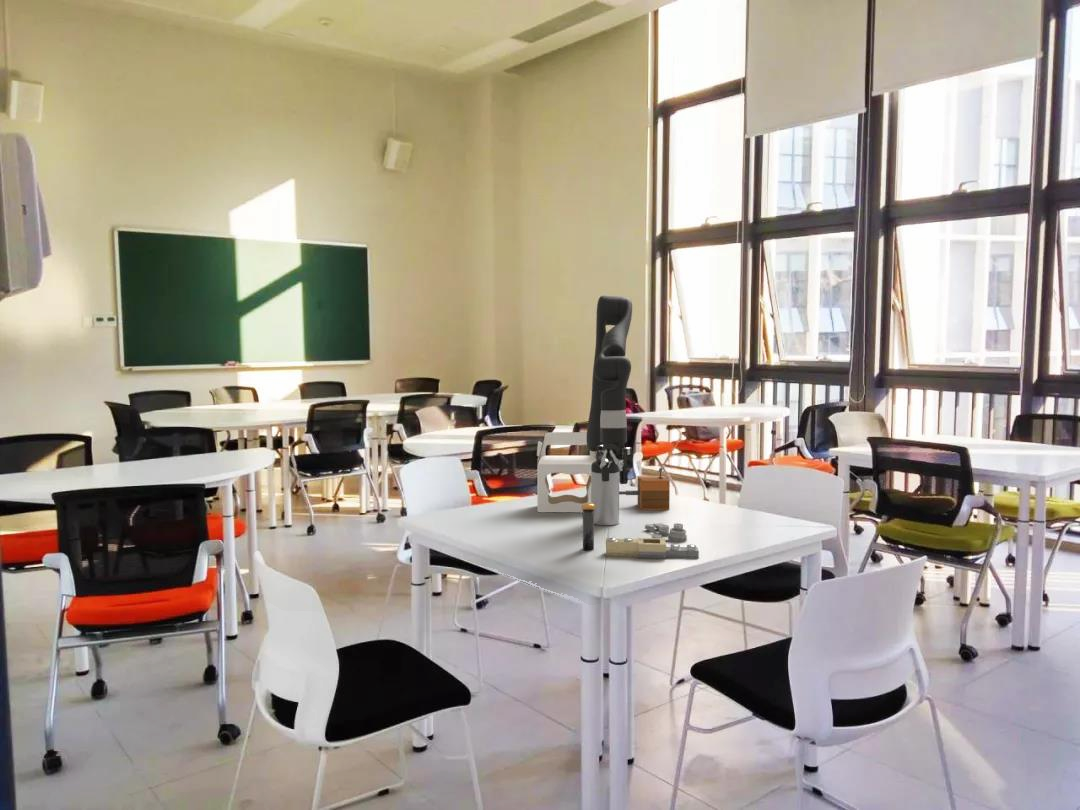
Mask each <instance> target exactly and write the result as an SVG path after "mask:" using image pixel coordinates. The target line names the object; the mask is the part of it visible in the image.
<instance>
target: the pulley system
mask: <svg viewBox="0 0 1080 810" xmlns="http://www.w3.org/2000/svg"><path fill="white" fill-rule="evenodd" d="M644 529H645V530H647V531H649V532H651V533H652V534H651V538H663V536H665V537H667V538H668V539H665V542H666V543H685V541H686V542H687V539H688V538H687V537H688V535H687V530H686V529H684V524H683V523H678V522H677V523H676V522H675V523H673V527H672V528H670V526H669V525H667V524H664V523H662V522H661V523H658V522H657V523H646V524H644ZM655 529H656V530H657V531H658V532H657V531H656V530H655Z"/></svg>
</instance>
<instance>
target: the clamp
mask: <svg viewBox="0 0 1080 810" xmlns="http://www.w3.org/2000/svg"><path fill="white" fill-rule="evenodd" d="M658 472H659V475H637V490H623V491H622V490H619V496H620V495H622V496H623V495H625V496H637V506H638V507H639V509H640V510H641V511H670V498H671V497H670V482H671V481H670V479H669V478H668V477H667V476H666V475H662V472H663V468H659V471H658Z"/></svg>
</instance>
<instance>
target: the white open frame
mask: <svg viewBox="0 0 1080 810" xmlns="http://www.w3.org/2000/svg"><path fill="white" fill-rule="evenodd" d="M547 446H587V431H586V432H585V431H584V432H581V431H579V432H576V431H575V432H574V431H572V432H571V431H570V432H569V431H566V432H565V431H564V432H563V431H562V432H561V431H560V432H559V431H558V432H557V431H556V432H555V431H553V432H552V431H551V432H550V431H549V432H545V434H544V439H543V440H542V441H541V440H538V441H537V449H536V456H537V457H538V458H537V464H536V465H537V467H536V468H537V469H536V471H537V473H536V474H537V475H536V476H537V480H536V481H537V484H536V485H537V492H536V493H537V498H536V499H537V507H536V508H537V511H538V512H583V509H582V508H581V504H583V503H591V465H592V463H593V462H595V461H596V451H590V450H589V455H546V449H547ZM550 474H563V475H572V476H573V475H580V474H582V475H588V479H587V482H586V485H585V489H586V495H584V496H581V497H580V496H576V495H573V494H561V495H558V496H550V494H549V489H550V485H549V482H548V479H547V476H548V475H550ZM538 512H537V513H538Z"/></svg>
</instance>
